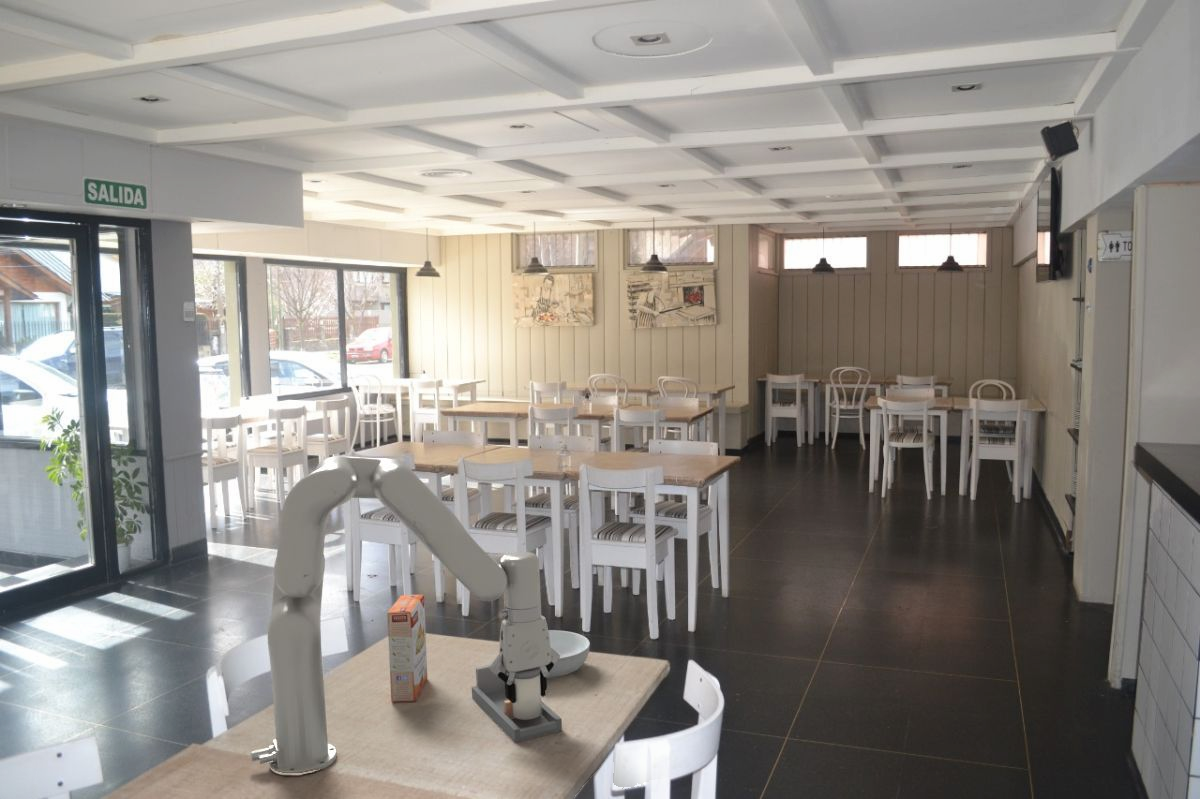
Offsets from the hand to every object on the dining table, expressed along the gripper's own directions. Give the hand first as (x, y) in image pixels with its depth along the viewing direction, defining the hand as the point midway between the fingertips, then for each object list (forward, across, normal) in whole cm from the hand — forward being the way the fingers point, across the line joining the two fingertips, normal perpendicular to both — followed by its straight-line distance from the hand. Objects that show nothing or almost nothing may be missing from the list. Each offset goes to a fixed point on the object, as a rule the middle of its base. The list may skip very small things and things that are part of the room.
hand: (526, 696), depth 195 cm
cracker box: (+7, -16, +32) cm, 37 cm away
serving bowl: (+7, +16, +27) cm, 32 cm away
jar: (+4, 0, 0) cm, 4 cm away
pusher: (+5, 0, +6) cm, 8 cm away
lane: (+6, 0, +8) cm, 10 cm away
